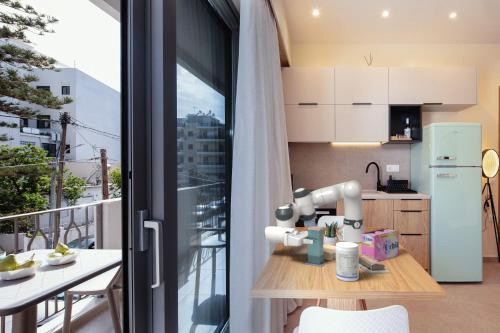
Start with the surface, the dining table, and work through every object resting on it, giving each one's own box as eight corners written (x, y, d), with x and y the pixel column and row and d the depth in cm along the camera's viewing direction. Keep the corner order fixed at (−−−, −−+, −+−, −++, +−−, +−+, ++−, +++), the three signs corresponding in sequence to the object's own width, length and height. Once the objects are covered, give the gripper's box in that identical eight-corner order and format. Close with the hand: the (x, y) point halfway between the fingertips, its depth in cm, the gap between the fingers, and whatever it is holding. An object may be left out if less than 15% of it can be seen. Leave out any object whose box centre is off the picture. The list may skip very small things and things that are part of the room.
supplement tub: (337, 273, 145) (337, 240, 145) (359, 276, 141) (359, 242, 141) (334, 280, 136) (334, 245, 136) (358, 283, 132) (357, 247, 132)
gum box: (387, 251, 181) (387, 227, 181) (401, 255, 174) (400, 229, 175) (361, 259, 167) (360, 233, 167) (374, 262, 161) (374, 235, 161)
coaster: (303, 265, 158) (303, 263, 158) (311, 260, 165) (311, 259, 165) (321, 268, 153) (321, 266, 153) (328, 263, 160) (328, 261, 160)
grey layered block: (351, 253, 162) (370, 253, 163) (351, 263, 162) (370, 262, 163) (368, 264, 144) (389, 263, 145) (368, 275, 144) (389, 274, 145)
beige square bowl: (307, 259, 168) (306, 249, 168) (318, 252, 180) (318, 243, 180) (334, 263, 159) (334, 253, 159) (344, 256, 172) (344, 246, 172)
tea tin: (307, 263, 159) (307, 227, 159) (312, 260, 163) (311, 226, 163) (319, 265, 155) (319, 228, 155) (323, 262, 159) (323, 227, 159)
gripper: (301, 239, 175) (325, 242, 167) (282, 246, 158) (308, 250, 150) (300, 227, 175) (325, 230, 167) (282, 234, 158) (308, 237, 150)
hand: (317, 239), depth 158 cm, fingers open, 8 cm apart
